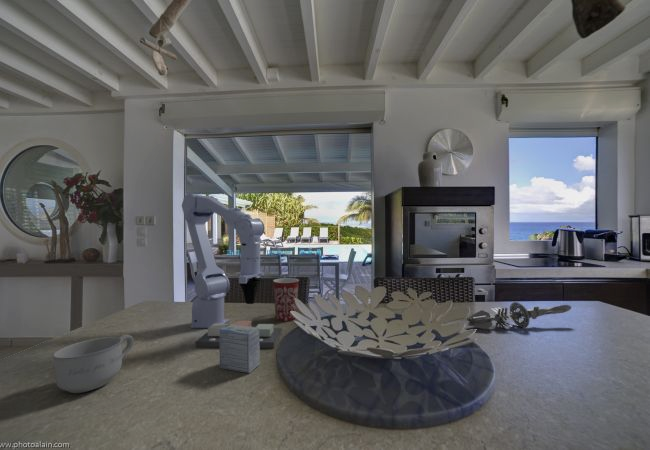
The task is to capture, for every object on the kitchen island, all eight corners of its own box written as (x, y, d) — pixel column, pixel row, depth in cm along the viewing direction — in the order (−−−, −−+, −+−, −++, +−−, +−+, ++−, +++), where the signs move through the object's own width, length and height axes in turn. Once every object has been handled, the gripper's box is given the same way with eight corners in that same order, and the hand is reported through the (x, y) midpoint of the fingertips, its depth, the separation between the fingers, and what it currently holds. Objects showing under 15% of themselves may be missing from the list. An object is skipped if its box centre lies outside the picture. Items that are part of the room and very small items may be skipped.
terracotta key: (230, 332, 79) (230, 325, 79) (236, 327, 83) (236, 320, 83) (246, 333, 79) (246, 325, 79) (251, 327, 83) (251, 320, 83)
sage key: (254, 336, 79) (254, 329, 79) (258, 330, 83) (258, 323, 83) (270, 336, 78) (270, 329, 78) (273, 331, 83) (273, 324, 83)
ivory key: (207, 336, 79) (207, 328, 79) (214, 330, 83) (214, 323, 84) (223, 336, 79) (223, 328, 79) (229, 330, 83) (229, 323, 83)
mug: (299, 321, 97) (299, 281, 97) (272, 322, 96) (272, 282, 96) (298, 311, 109) (298, 276, 110) (274, 312, 108) (274, 276, 109)
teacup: (64, 407, 50) (65, 361, 50) (43, 389, 56) (44, 348, 56) (148, 373, 62) (148, 336, 62) (124, 361, 68) (124, 327, 68)
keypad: (195, 347, 76) (195, 340, 76) (213, 332, 87) (213, 326, 87) (273, 348, 75) (273, 341, 75) (281, 333, 86) (281, 327, 86)
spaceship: (585, 304, 87) (562, 290, 94) (476, 320, 84) (461, 303, 92) (579, 325, 90) (557, 309, 97) (473, 341, 87) (459, 323, 95)
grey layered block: (260, 365, 66) (260, 327, 66) (249, 374, 61) (249, 333, 62) (231, 360, 68) (231, 323, 68) (218, 368, 64) (218, 329, 64)
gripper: (256, 260, 79) (256, 310, 79) (269, 256, 94) (268, 297, 93) (231, 260, 79) (231, 309, 79) (248, 255, 94) (247, 297, 94)
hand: (250, 303), depth 86 cm, fingers closed
